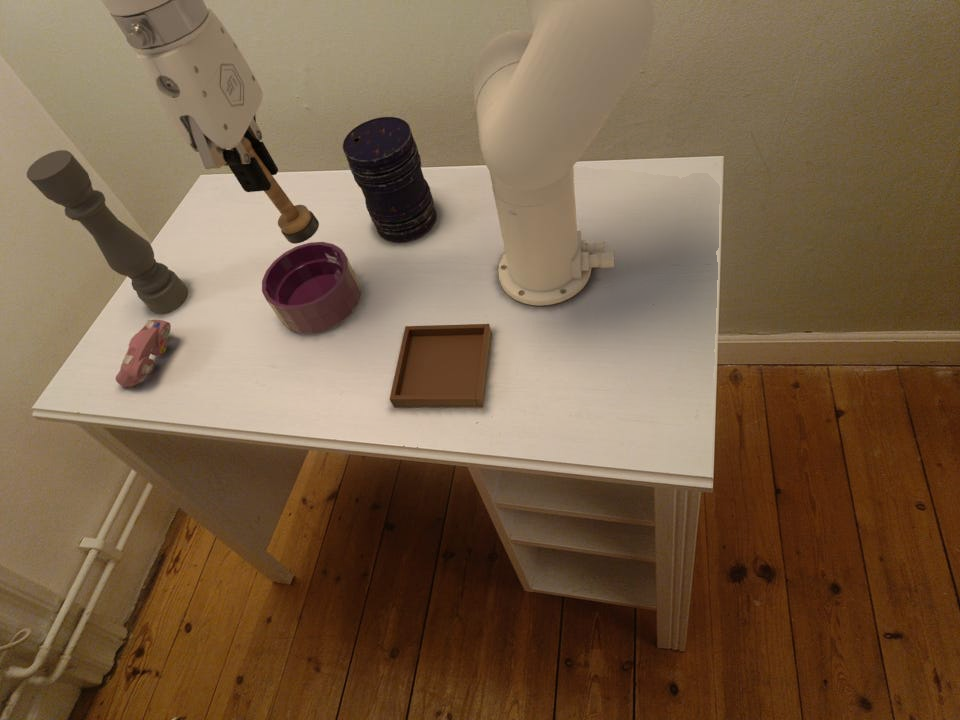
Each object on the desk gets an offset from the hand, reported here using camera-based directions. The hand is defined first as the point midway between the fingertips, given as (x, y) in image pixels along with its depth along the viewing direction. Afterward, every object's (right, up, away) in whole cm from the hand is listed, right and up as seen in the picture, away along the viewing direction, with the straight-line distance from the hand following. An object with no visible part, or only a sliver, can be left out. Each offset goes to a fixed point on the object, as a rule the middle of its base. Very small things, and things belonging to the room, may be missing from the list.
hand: (262, 180), depth 69 cm
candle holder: (-23, -11, +26) cm, 37 cm away
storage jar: (+13, +1, +26) cm, 29 cm away
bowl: (+2, -12, +19) cm, 23 cm away
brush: (+3, -4, +6) cm, 8 cm away
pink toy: (-22, -21, +18) cm, 35 cm away
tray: (+20, -21, +8) cm, 31 cm away
